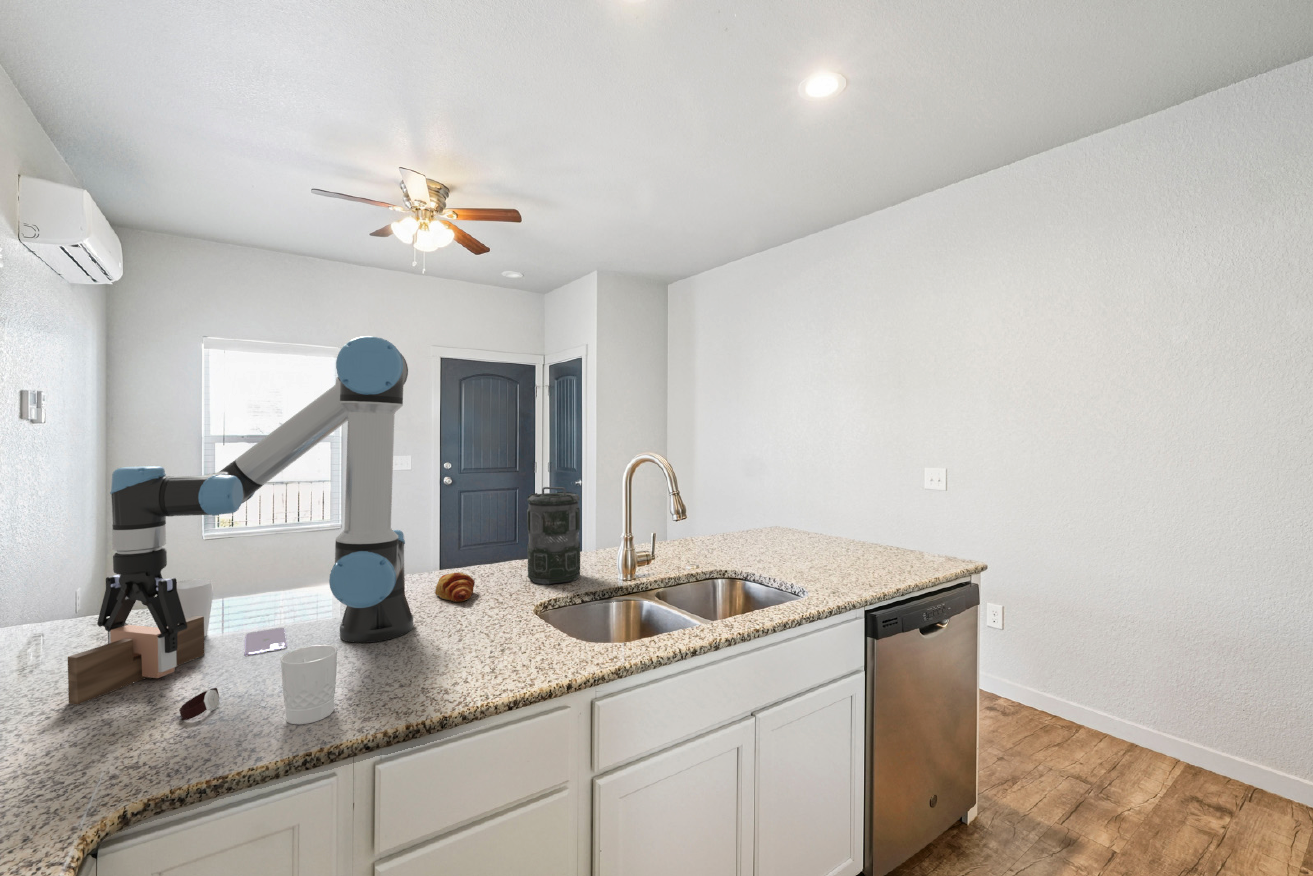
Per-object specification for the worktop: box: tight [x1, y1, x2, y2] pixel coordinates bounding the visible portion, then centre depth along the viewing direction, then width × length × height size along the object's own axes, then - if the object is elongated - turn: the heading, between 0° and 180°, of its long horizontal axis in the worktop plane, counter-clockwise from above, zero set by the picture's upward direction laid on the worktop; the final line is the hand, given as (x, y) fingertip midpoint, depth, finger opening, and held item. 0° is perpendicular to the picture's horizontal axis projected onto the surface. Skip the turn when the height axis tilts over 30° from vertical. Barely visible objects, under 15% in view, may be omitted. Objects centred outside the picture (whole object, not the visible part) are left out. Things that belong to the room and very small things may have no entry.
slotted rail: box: [67, 616, 206, 706], centre depth 110 cm, size 2×22×8 cm, turn 167°
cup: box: [177, 578, 214, 638], centre depth 131 cm, size 9×9×12 cm
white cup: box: [280, 644, 338, 725], centre depth 96 cm, size 8×8×10 cm
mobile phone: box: [243, 627, 288, 656], centre depth 128 cm, size 8×1×15 cm
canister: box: [526, 486, 581, 586], centre depth 180 cm, size 16×16×28 cm
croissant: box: [434, 572, 476, 603], centre depth 163 cm, size 21×10×8 cm, turn 32°
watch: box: [179, 687, 220, 721], centre depth 98 cm, size 8×5×4 cm, turn 13°
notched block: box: [111, 624, 176, 679], centre depth 110 cm, size 11×3×8 cm, turn 77°
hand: (143, 666), depth 110 cm, fingers closed on notched block, 11 cm apart
